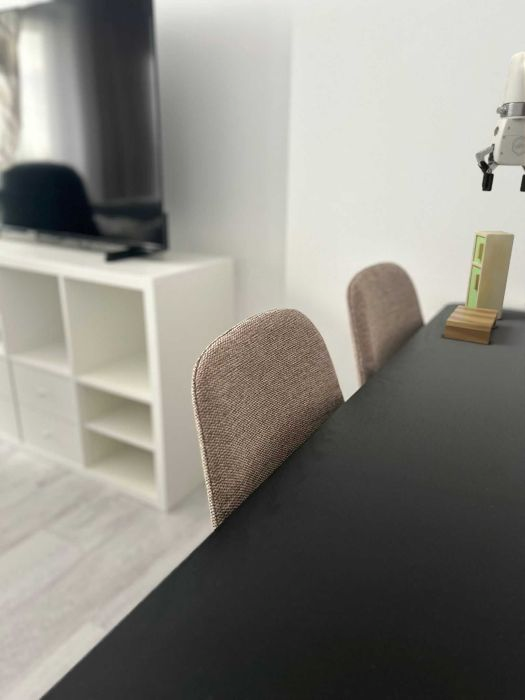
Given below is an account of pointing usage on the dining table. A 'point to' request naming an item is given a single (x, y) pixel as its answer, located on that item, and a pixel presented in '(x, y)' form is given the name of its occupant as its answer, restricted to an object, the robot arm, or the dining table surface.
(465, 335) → the oak shelf
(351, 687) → the dining table surface
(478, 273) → the toy refrigerator
